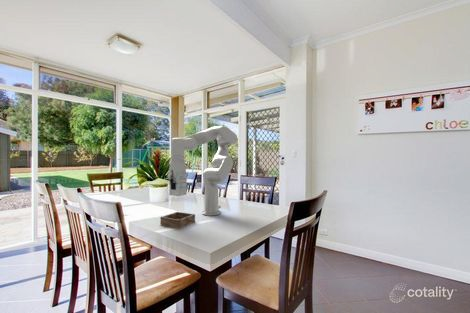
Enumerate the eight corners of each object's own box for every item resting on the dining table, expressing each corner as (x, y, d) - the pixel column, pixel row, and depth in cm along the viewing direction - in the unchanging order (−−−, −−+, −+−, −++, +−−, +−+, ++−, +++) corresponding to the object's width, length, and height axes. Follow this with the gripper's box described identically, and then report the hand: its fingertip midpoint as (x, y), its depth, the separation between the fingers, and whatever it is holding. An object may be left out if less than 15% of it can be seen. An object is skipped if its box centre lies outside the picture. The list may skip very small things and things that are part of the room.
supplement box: (168, 195, 129) (168, 173, 129) (177, 193, 135) (177, 173, 135) (178, 196, 125) (178, 174, 125) (187, 194, 132) (187, 173, 132)
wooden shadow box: (177, 218, 140) (177, 211, 140) (195, 221, 133) (195, 214, 133) (160, 224, 127) (160, 217, 127) (179, 228, 121) (179, 220, 121)
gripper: (183, 158, 140) (183, 186, 140) (162, 158, 124) (162, 190, 124) (192, 158, 136) (192, 187, 136) (172, 158, 121) (172, 191, 121)
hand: (178, 188), depth 130 cm, fingers closed on supplement box, 7 cm apart
